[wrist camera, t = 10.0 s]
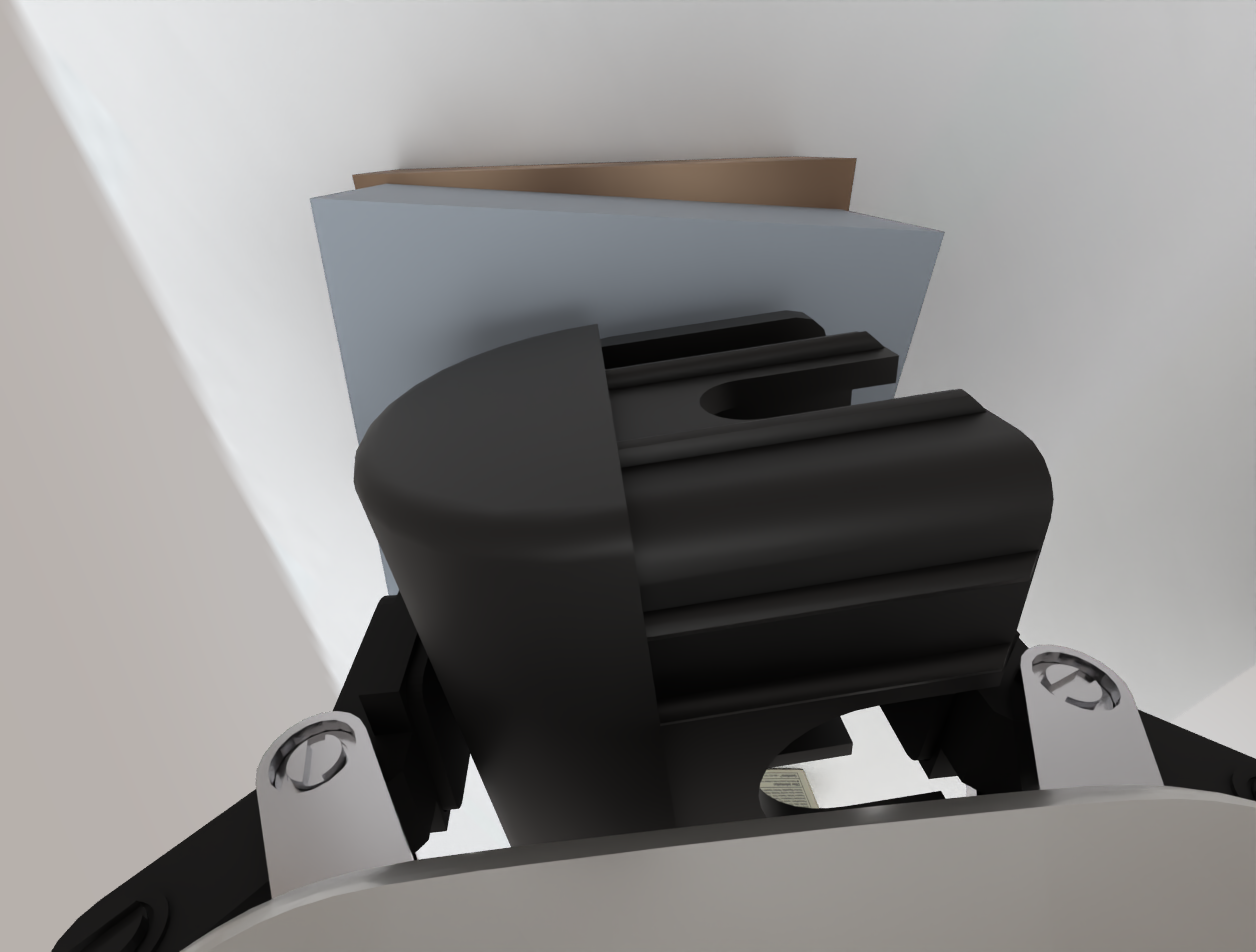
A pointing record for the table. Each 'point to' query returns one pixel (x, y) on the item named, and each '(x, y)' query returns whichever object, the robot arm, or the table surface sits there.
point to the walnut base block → (657, 180)
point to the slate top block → (592, 275)
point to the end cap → (693, 560)
